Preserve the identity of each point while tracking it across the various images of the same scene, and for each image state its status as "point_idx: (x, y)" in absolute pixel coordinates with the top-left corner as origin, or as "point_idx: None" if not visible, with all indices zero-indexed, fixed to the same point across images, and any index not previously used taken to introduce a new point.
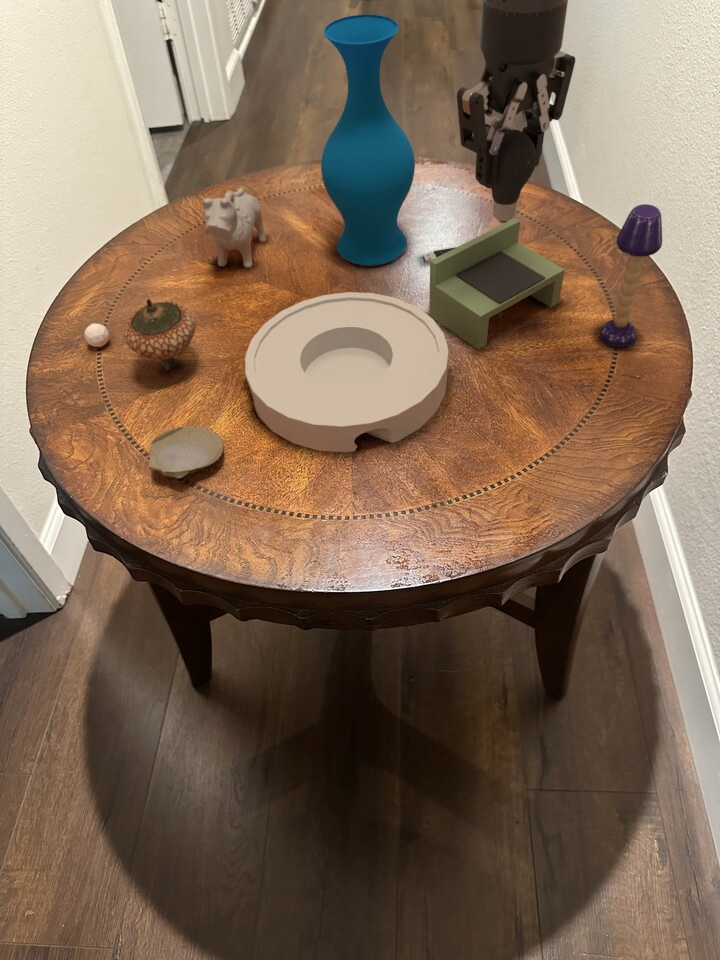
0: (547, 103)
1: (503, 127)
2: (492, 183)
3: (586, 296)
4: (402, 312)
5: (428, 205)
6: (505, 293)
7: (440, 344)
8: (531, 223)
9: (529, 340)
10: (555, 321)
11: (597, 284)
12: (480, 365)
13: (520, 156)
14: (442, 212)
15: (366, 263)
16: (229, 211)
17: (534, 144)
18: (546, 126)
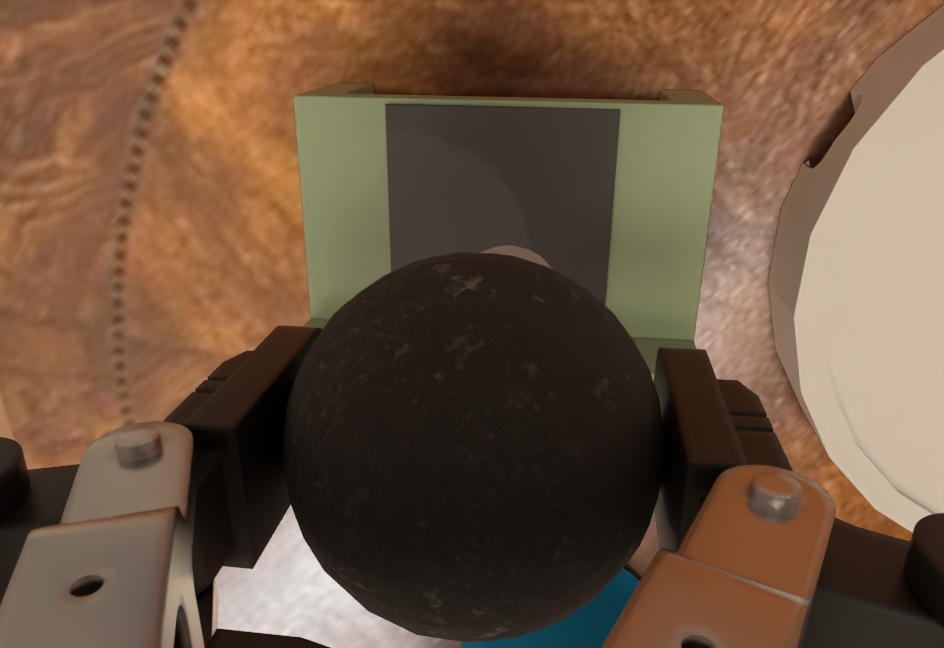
0: (43, 568)
1: (787, 600)
2: (701, 358)
3: (245, 46)
4: (834, 332)
5: (311, 640)
6: (562, 136)
7: (914, 109)
8: (140, 408)
9: (543, 9)
10: (410, 22)
11: (177, 66)
12: (754, 27)
13: (525, 343)
14: (302, 598)
15: (637, 583)
16: None
17: (270, 410)
18: (139, 434)
